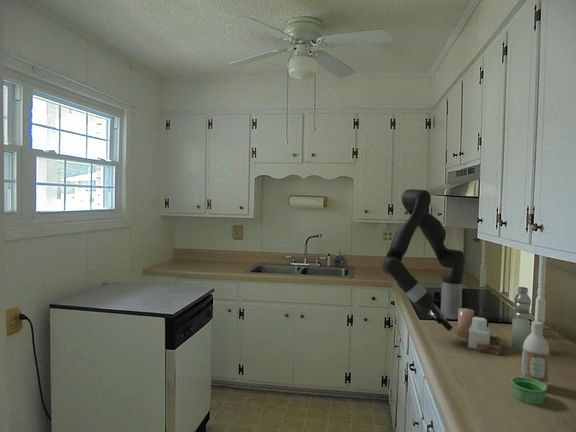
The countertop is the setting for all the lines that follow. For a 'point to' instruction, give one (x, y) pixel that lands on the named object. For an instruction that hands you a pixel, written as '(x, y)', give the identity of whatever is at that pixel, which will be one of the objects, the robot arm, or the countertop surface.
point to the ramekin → (528, 390)
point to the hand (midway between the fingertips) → (450, 329)
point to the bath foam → (536, 355)
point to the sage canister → (519, 333)
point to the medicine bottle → (478, 331)
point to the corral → (491, 346)
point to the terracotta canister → (464, 321)
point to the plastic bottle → (522, 303)
